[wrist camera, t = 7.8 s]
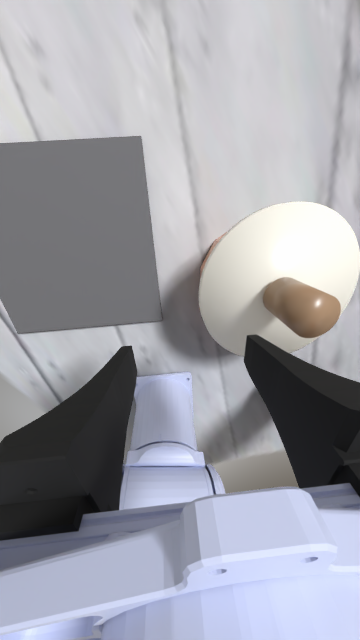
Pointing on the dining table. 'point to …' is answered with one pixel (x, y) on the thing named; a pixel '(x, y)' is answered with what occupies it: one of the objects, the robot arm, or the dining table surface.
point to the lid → (279, 277)
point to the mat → (76, 234)
